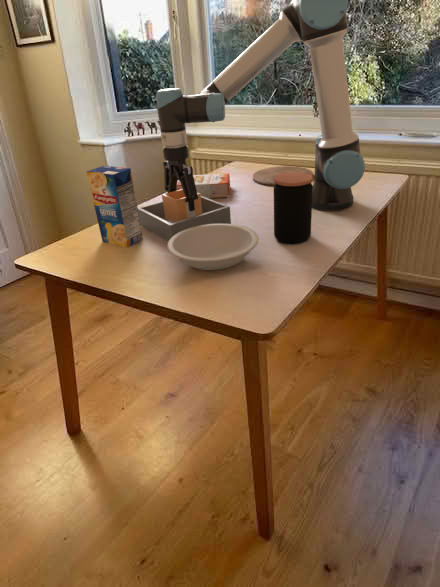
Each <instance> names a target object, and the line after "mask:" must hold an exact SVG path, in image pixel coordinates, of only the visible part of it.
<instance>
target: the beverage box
mask: <svg viewBox="0 0 440 587" xmlns="http://www.w3.org/2000/svg"><path fill="white" fill-rule="evenodd" d="M131 169H132V168H130V167H122V166H121V167H120V166H111V165H102V166H99V167H95V168H93V169H90V170H86V174H87V179H88V183H89V184H88V185H89V190H90V192H91V199H92V201H93V206H94V211H95V215H96V219H97V220H96V221H97V224H98V228H99V232H100V233H99V234H100V236H101V241H102V243H106V244H111V245H115V246H118V247H124V248H127V249H128V248H130V247H132V246H134V245H136V244H137V243H139V242H141V241H142V240H144V237H143V232H142V228H141V227H142V226H141V225H140V220H139V214H138V208H139V207H138V205H137V204H138V203H137V197H136V191H135V188H134V187H135V185H134V181H133V176H132V170H131Z"/></svg>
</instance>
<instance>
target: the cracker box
mask: <svg viewBox="0 0 440 587" xmlns="http://www.w3.org/2000/svg"><path fill="white" fill-rule="evenodd" d="M193 177H194V181H195V186H196V190H197V193H200V194H201V196H203V197H206V198H209V199H212V198H213V199H216V198H217V199H218V198H229V196H230V190H231V181H230V179H231V177H230V173H229V172H228V173H214V174H213V173H212V174H211V173H210V174H193ZM176 189H177V190H180V189H183V188H182V186H181V183H180V181H179V180H178V181H177V188H176Z"/></svg>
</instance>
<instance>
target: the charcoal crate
mask: <svg viewBox="0 0 440 587" xmlns="http://www.w3.org/2000/svg"><path fill="white" fill-rule="evenodd" d="M201 204H202V214H200V215H197V216H194V217H191V218H188V219H184V220H181V221H178V222H175V223H174V222H172V221H170V220H168V219H166V218H165V213H164V206H163V200H160V201H157V202H153V203H150V204H147V205H143V206H140V207H137V208H138V214H139V220H140V225H141V227H142V228H143V229H146V230H147V231H149V232H151V233H153V234H155V235H156V236H158V237H160V238H161V239H163V240H165V241H166V242H167V243H168V242H169V240H170V239H171V238H172V237H173V236H174V235H176V234H177V233H179V232H181V231H183V230H186V229H189V228H192V227H196V226H200V225H206V224H232V220H231V218H232V217H231V206H229V205H227V204H224V203H222V202H220V201H216V200H214V199H212V198H206V197H203V196H201Z"/></svg>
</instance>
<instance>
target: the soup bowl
mask: <svg viewBox="0 0 440 587" xmlns="http://www.w3.org/2000/svg"><path fill="white" fill-rule="evenodd" d="M258 243H259V235H258V234H257V233H256V231H254V230H253V229H252V228H249V227H247V226H244V225H239V224H233V223H231V224H206V225H200V226H196V227H192V228H189V229H186V230H183V231H181V232H179V233H177V234H176V235H174V236H173V237H172V238H171V239H170V240H169V242H168V241H167V250H168V252H169V253H170V254H171V255H173V256H174V257H177V258H178V259H179V260H180V261H182V262H183V263H184V264H186V265H188V266H190V267H191V268H195V269H198V270H203V271H217V270H224V269H228V268H231V267H233V266H235V265H237V264H239V263H240V262H241V261H243V260H244V259H245V258H246V257H247V256H248V255H249V253H250V252H251V251H252V250H253V249H255V248H256V247H257V245H258Z"/></svg>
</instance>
